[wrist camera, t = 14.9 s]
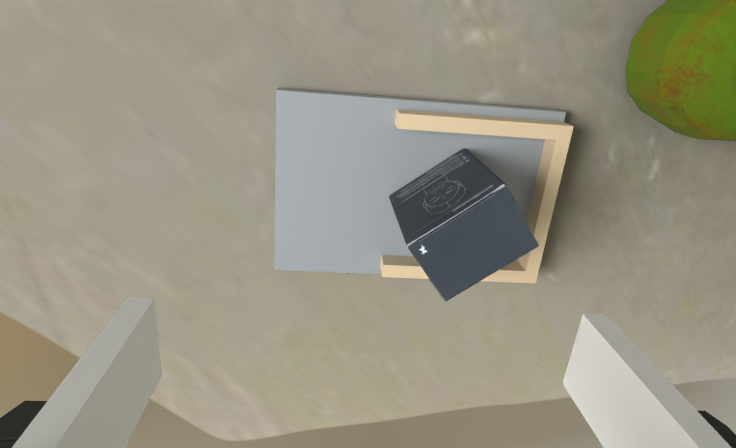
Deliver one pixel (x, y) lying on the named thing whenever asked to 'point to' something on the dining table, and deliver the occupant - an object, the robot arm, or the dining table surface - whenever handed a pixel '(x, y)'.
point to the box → (461, 223)
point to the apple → (687, 68)
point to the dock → (399, 174)
